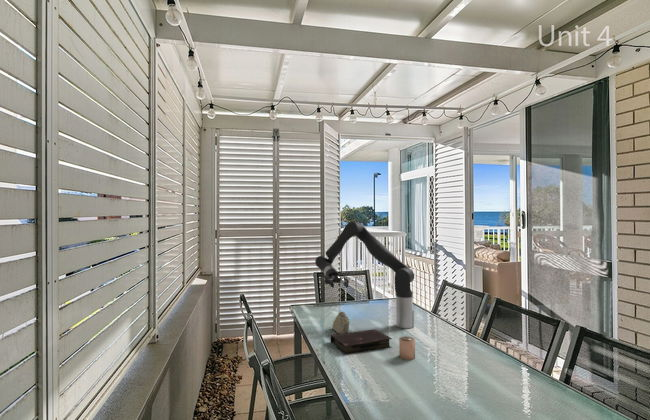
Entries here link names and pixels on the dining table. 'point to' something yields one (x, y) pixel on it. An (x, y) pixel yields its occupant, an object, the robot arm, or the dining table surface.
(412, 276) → the robot arm
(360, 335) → the diary
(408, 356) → the peach glossy cylinder
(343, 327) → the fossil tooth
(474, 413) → the dining table surface
